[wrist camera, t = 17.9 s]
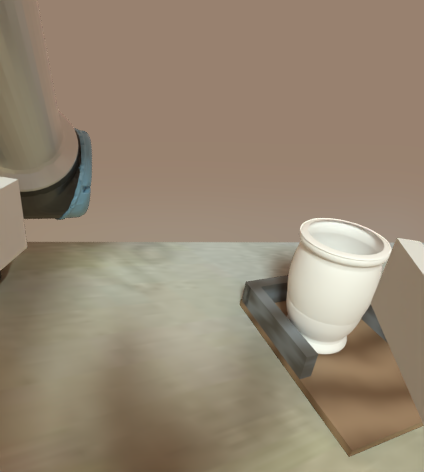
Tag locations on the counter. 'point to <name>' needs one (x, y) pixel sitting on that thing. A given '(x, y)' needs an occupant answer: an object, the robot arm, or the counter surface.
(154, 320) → the counter surface
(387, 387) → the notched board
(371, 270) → the jar
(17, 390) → the counter surface
